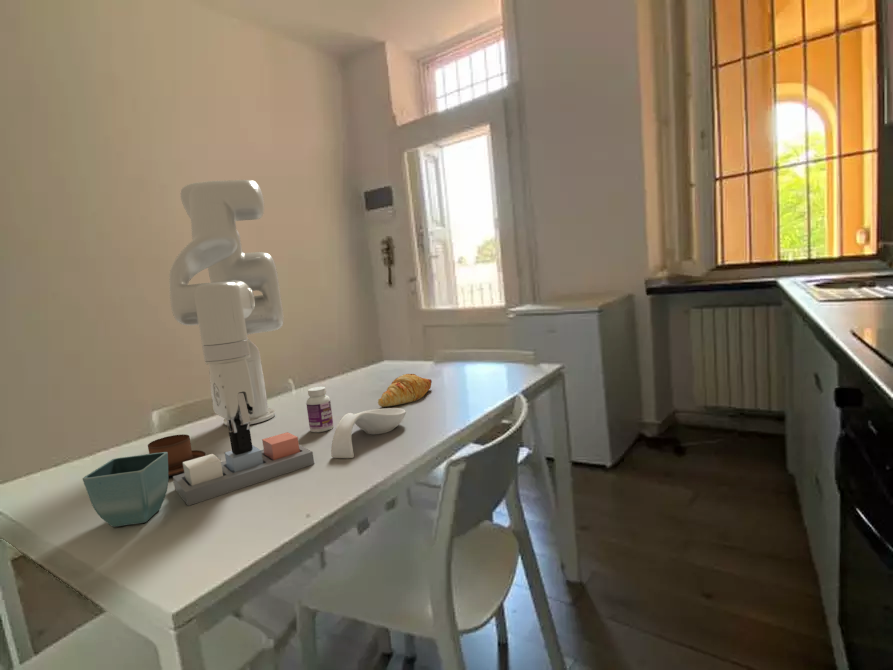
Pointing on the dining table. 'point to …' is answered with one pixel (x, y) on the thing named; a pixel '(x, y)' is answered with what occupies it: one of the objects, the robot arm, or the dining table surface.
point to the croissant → (405, 390)
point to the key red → (280, 445)
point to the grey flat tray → (241, 476)
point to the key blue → (243, 460)
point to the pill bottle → (319, 410)
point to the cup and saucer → (175, 451)
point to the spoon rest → (363, 428)
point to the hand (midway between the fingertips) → (242, 451)
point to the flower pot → (129, 488)
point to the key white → (202, 469)
